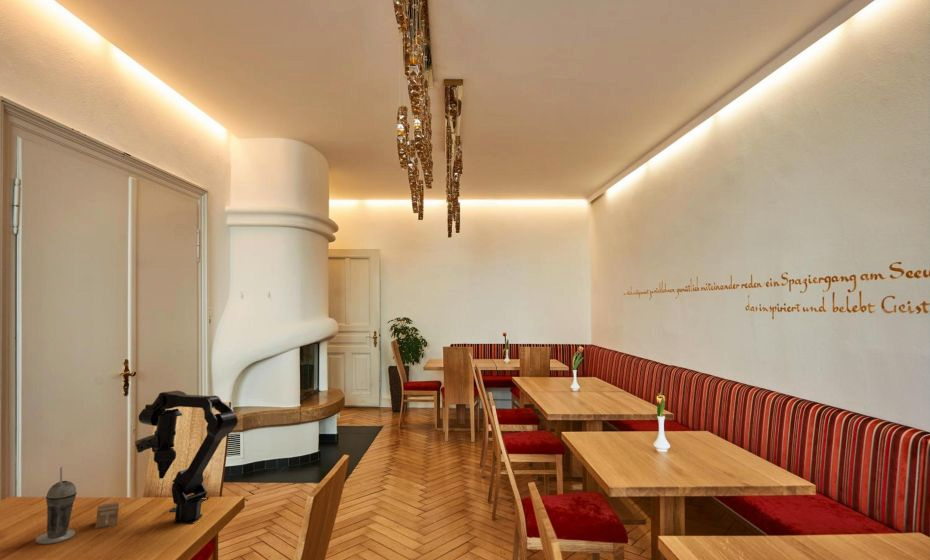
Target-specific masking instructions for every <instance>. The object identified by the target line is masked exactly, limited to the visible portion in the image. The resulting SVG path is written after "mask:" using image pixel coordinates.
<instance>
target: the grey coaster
mask: <svg viewBox="0 0 930 560" xmlns="http://www.w3.org/2000/svg"><path fill="white" fill-rule="evenodd" d="M75 535H76V531H75V530H74V529H70V528H68V530H67V534H66V535H65V536H62V537H59V538H47V536H48V535H47V532H45V533H42V534H40V535H38V536H37V537H36V538H35V543H36V544H37V545H53V544H52V543H54V544H59V543H62V542H66V541H69V540H70V539H72V538H73V537H74V536H75Z"/></svg>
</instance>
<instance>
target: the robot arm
mask: <svg viewBox="0 0 930 560" xmlns="http://www.w3.org/2000/svg"><path fill="white" fill-rule="evenodd" d="M144 407H145V408H143V409H141V411H140V413H139V415H138V421H139V423H140V424H143V425H147V426H148V425H149V426H153V427H156V429H155V430H154V434H151V435H148V436H145V437H142V438H140V439H137V440H135V441H134V444H135V449H136V452H137V453H142V452H144V451H146V450H149V449H151V452H152V453H153V462H154V463H156V467H157V471H158V477H159V479H161V480H162V479H163V478H165V476H166V474H167V473H168V471H169V469H170V467H171V465H172V464H173V462H175V460H176V458H177V457H176V456H177V451H176V450H175V449H174V447H175V436H176V433H177V432H176V429H177V419H178V417H181V416H182V415H183V413H182V411H180V410H179V408H180V407H181V408H195V409H197V408H198V409H199V408H200V409H202V410H203V417H204V420H205V422H206V424H207V425H206V434H207V435H206V436H205V438H204V440H203V441H202V443H201V445H200V446H199V448H198V450H197V452H196V453H195V456H194V457H193V458H192V461H191V462H190V464H189V466H188V468H186V469H182V470H179V471H178V472H177V473H176V476H175V478H173V480H172V482H173V483H172V485H171V494H172V495H171V496H172V500H173V505H174V504H175V507H176V512H175V517H174V521H173V523H174V524H194V523H193V522H195V521H196V520H197V519H198V520H199V518H200V517H201V516H202V517H203V514H201V511H202V510H201V509H202V504H201V501H202V498H205V497H207V494H208V491H207V489H206V486H205V485H204V484H203V482H204V475H203V473H204V472H205V470H206V469H207V466H208V465H209V463H210V461H211V459H212V458H213V456H214V454H215V453H216V450H217V449H218V448H219V445H221V442H222V441H223V440H224V438H225V437H227V436H228V435H229V434H231V433H232V431H233V430H234V429H235V428H236V427H237V425H238V422H239V420H238V416H237V414H236V413H235V411H234V410H233V409H232V407H231V406H229V405H228V404H227V403H225V402H223V400H222V399H221V397H220V396H219V395H215V394H214V395H203V394H202V395H200V394H199V395H198V394H187V393H185V392H184V391H181V390H171V391H164V392H159V393H158V396H157V397H156V399H155V400H154V401H153V402H152V403H150V404H145V406H144ZM213 409H214V410H215V411H216V412H219V413H216V414H215V413H214V412H213ZM177 505H178V506H177ZM202 517H201V518H202ZM201 518H200V519H201ZM198 520H197V521H198ZM197 521H196V522H197ZM196 522H195V523H196Z"/></svg>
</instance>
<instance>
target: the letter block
mask: <svg viewBox="0 0 930 560" xmlns="http://www.w3.org/2000/svg"><path fill="white" fill-rule="evenodd" d="M119 505H120V502H119V501H116V502H109V503H103V504H98V505H97V510H96V511H97V512H96V521H95V529H101V528H100V527H102V528H108V527H113V526H114V525H115V526H117V525H118V516H119ZM107 526H108V527H107ZM115 526H114V527H115Z"/></svg>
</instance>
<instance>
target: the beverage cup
mask: <svg viewBox="0 0 930 560" xmlns="http://www.w3.org/2000/svg"><path fill="white" fill-rule="evenodd" d="M77 494H78V493H77V488H76V485H75V484H74V483H73V482H71V481H69V480H63V467H62V466H60V468H59V482H56V483H55V484H53V485H51V486H50V488H49V489H48V491H47V493H46V496H45V499H46V506H47V513H46V514H47V515H46V516H47V517H46V523H47V525H46V533H47V535H48V536H47V538H59V537H62V536H65V535H66V534H67V530H68V529H69V525H70V522H71V516H72V511H73V506H74V502H75V499H76V495H77Z"/></svg>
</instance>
